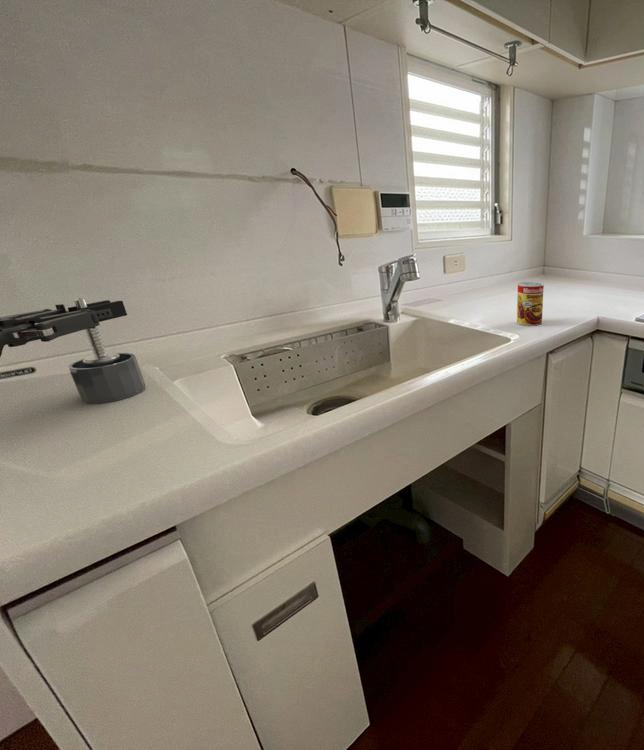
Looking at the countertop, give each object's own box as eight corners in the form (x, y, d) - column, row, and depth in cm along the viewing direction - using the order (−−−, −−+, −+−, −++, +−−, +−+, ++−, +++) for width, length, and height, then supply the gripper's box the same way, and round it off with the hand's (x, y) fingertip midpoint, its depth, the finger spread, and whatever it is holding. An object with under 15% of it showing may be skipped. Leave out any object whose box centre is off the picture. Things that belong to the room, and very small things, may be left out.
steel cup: (69, 400, 72) (54, 366, 69) (124, 382, 80) (112, 351, 77) (104, 406, 70) (90, 371, 67) (157, 387, 77) (146, 355, 75)
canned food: (526, 327, 121) (528, 286, 117) (512, 321, 127) (512, 283, 123) (547, 323, 125) (549, 284, 120) (531, 318, 131) (533, 281, 127)
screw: (125, 362, 76) (120, 370, 72) (90, 367, 73) (83, 375, 70) (100, 293, 71) (93, 298, 67) (62, 296, 69) (53, 301, 65)
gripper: (-94, 370, 55) (88, 326, 76) (3, 375, 53) (159, 328, 75) (-126, 316, 52) (72, 286, 74) (-24, 319, 50) (147, 288, 72)
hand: (116, 307), depth 74 cm, fingers closed on screw, 2 cm apart
